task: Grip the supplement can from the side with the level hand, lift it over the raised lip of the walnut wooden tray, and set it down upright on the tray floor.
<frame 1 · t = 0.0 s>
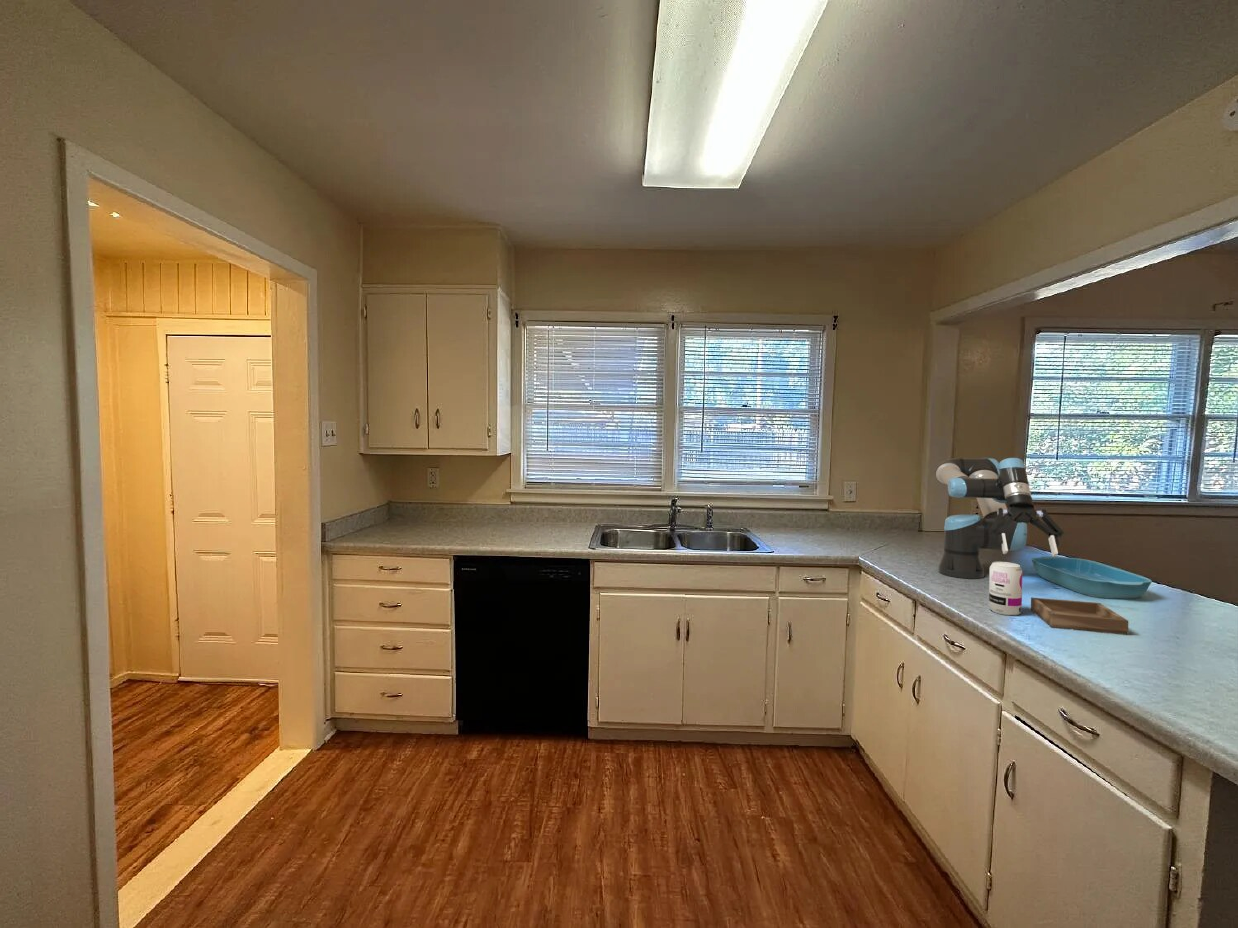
hand: (1030, 553, 173), 15 cm above the worktop, tool tilted 35°, fingers open, 13 cm apart
casserole dish: (1086, 587, 187), on the worktop
supplement can: (1004, 612, 162), on the worktop
walnut tray: (1075, 621, 153), on the worktop
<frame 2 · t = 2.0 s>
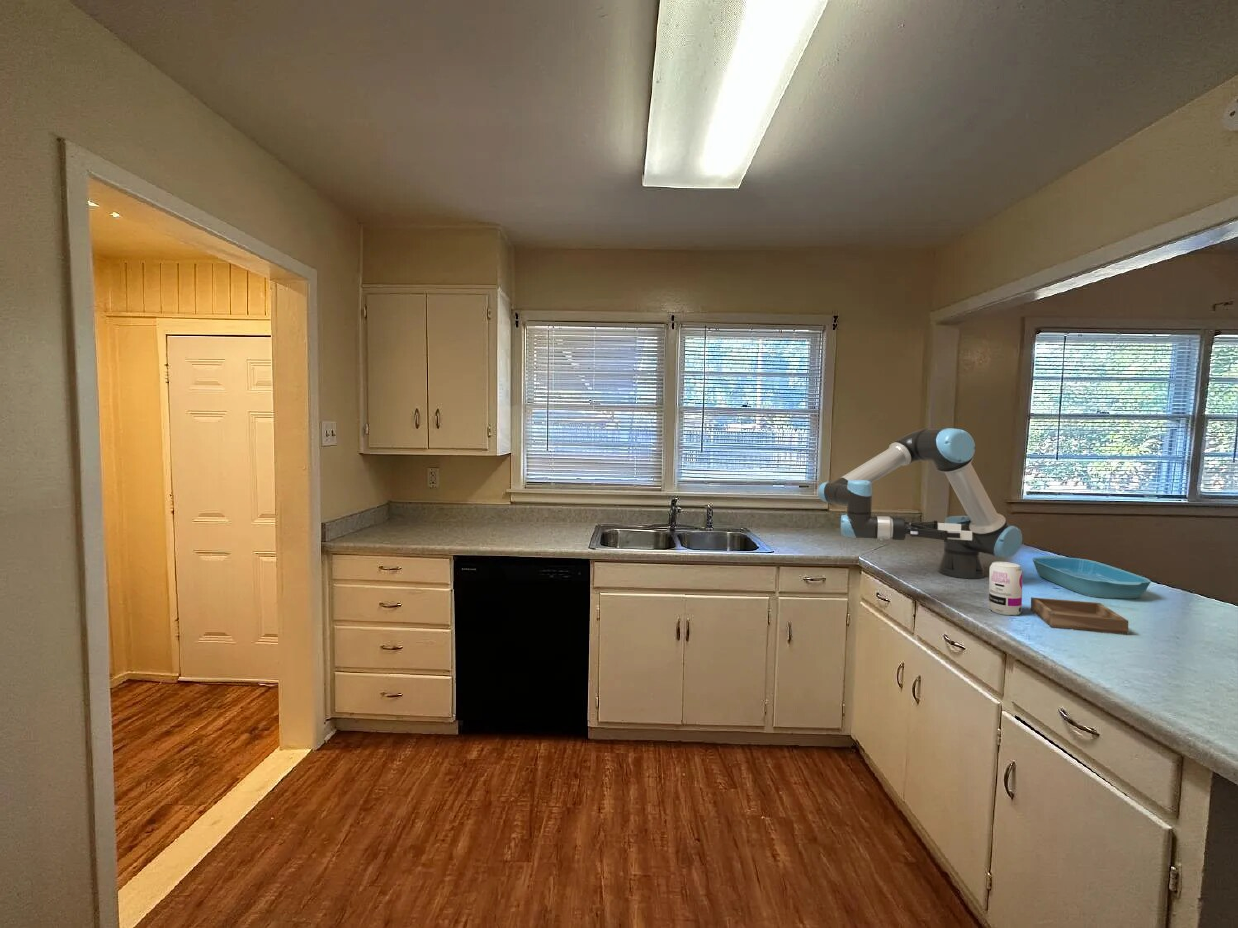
hand: (966, 531, 165), 25 cm above the worktop, tool horizontal, fingers open, 13 cm apart
nothing on the worktop moved.
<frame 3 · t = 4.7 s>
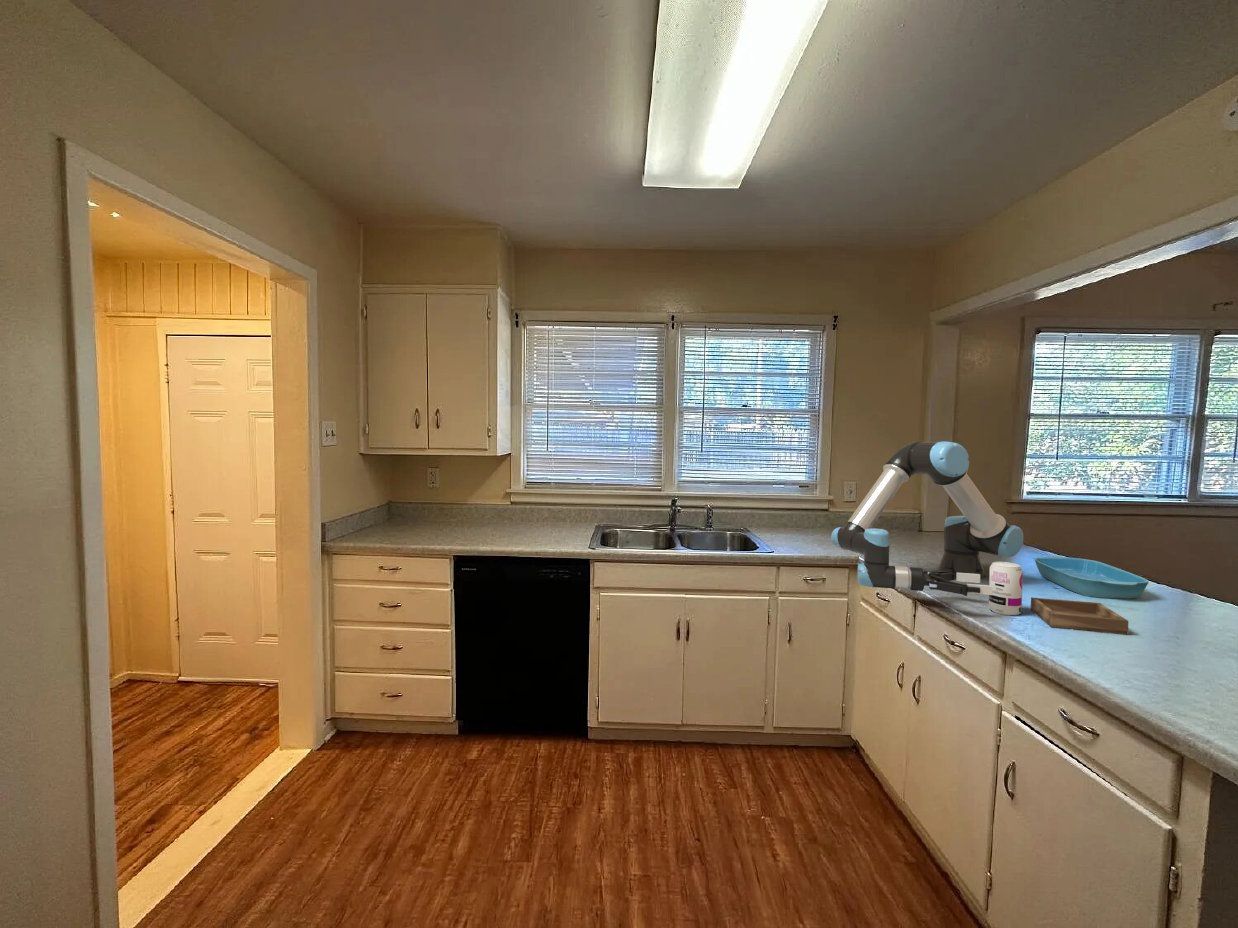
hand: (986, 584, 163), 8 cm above the worktop, tool horizontal, fingers open, 13 cm apart
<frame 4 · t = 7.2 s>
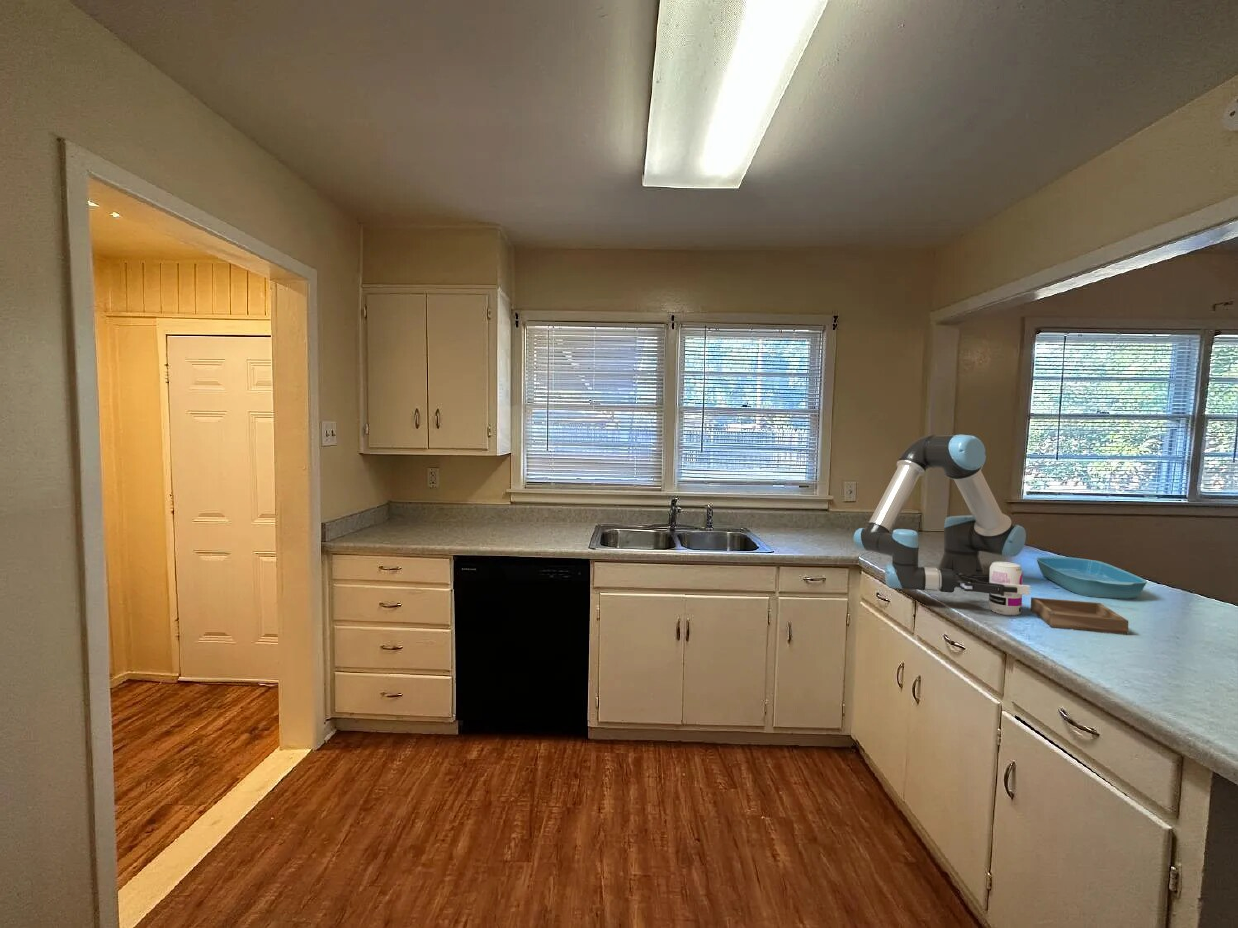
hand: (1023, 586, 160), 9 cm above the worktop, tool horizontal, fingers closed on supplement can, 8 cm apart
supplement can: (1004, 612, 162), on the worktop, touching gripper
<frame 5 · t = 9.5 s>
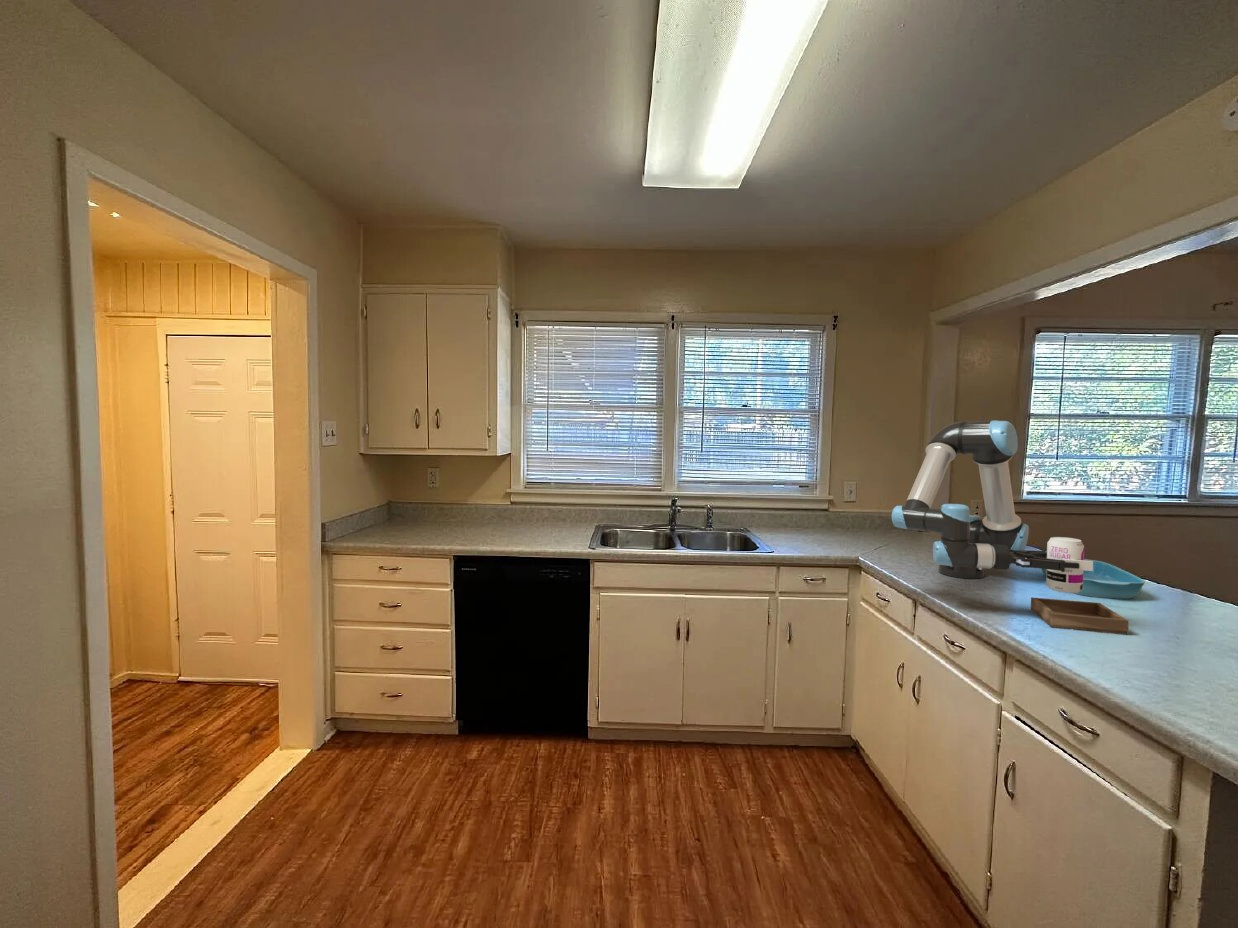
hand: (1085, 562, 151), 18 cm above the worktop, tool horizontal, fingers closed on supplement can, 8 cm apart
supplement can: (1063, 590, 154), point 9 cm above the worktop, touching gripper
when the fingers open (11 cm above the worktop, at t = 12.1 s): supplement can drops 2 cm, resting on walnut tray.
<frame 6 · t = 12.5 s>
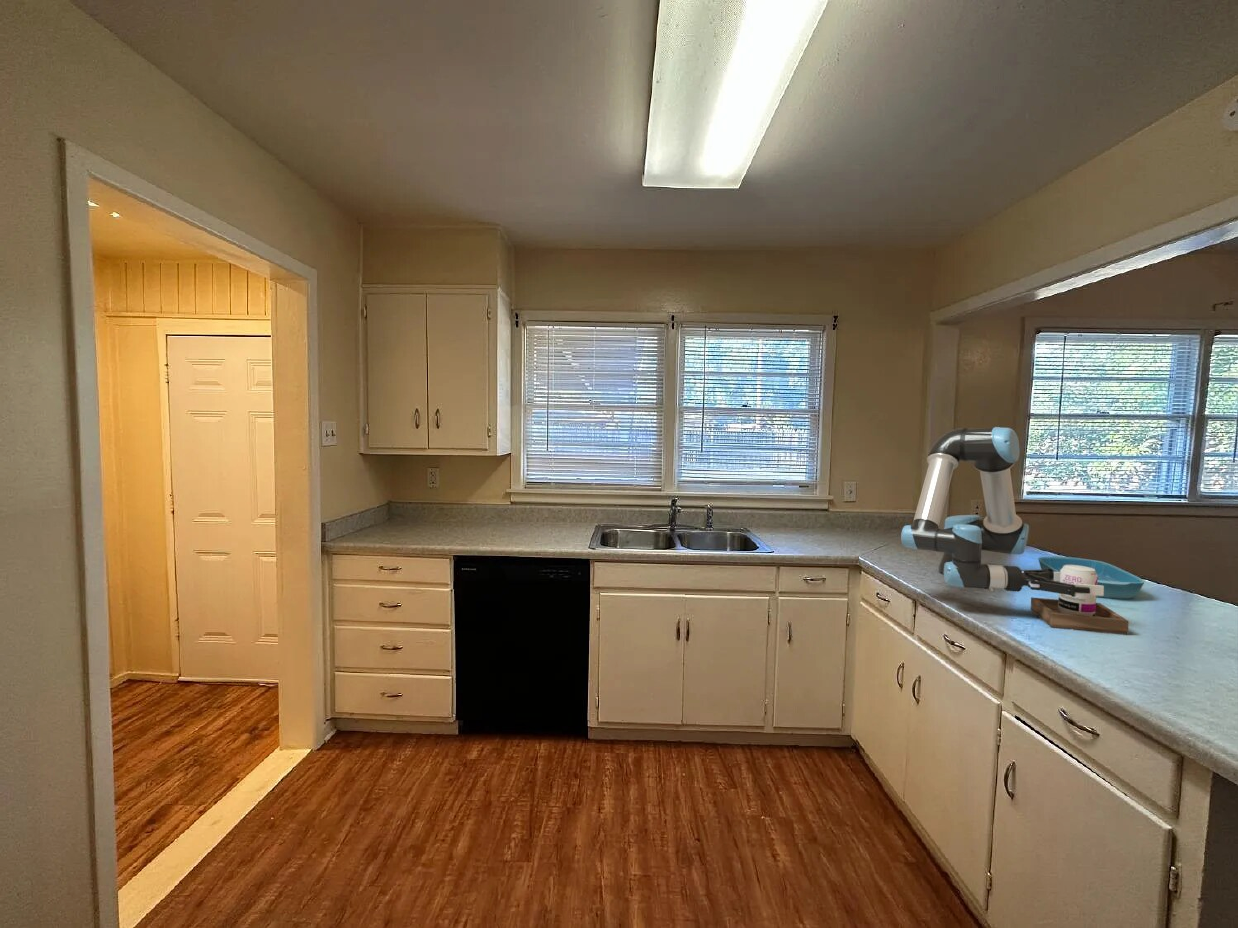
hand: (1091, 584, 151), 11 cm above the worktop, tool horizontal, fingers open, 13 cm apart
supplement can: (1075, 618, 153), point 1 cm above the worktop, touching walnut tray
everything else where it was.
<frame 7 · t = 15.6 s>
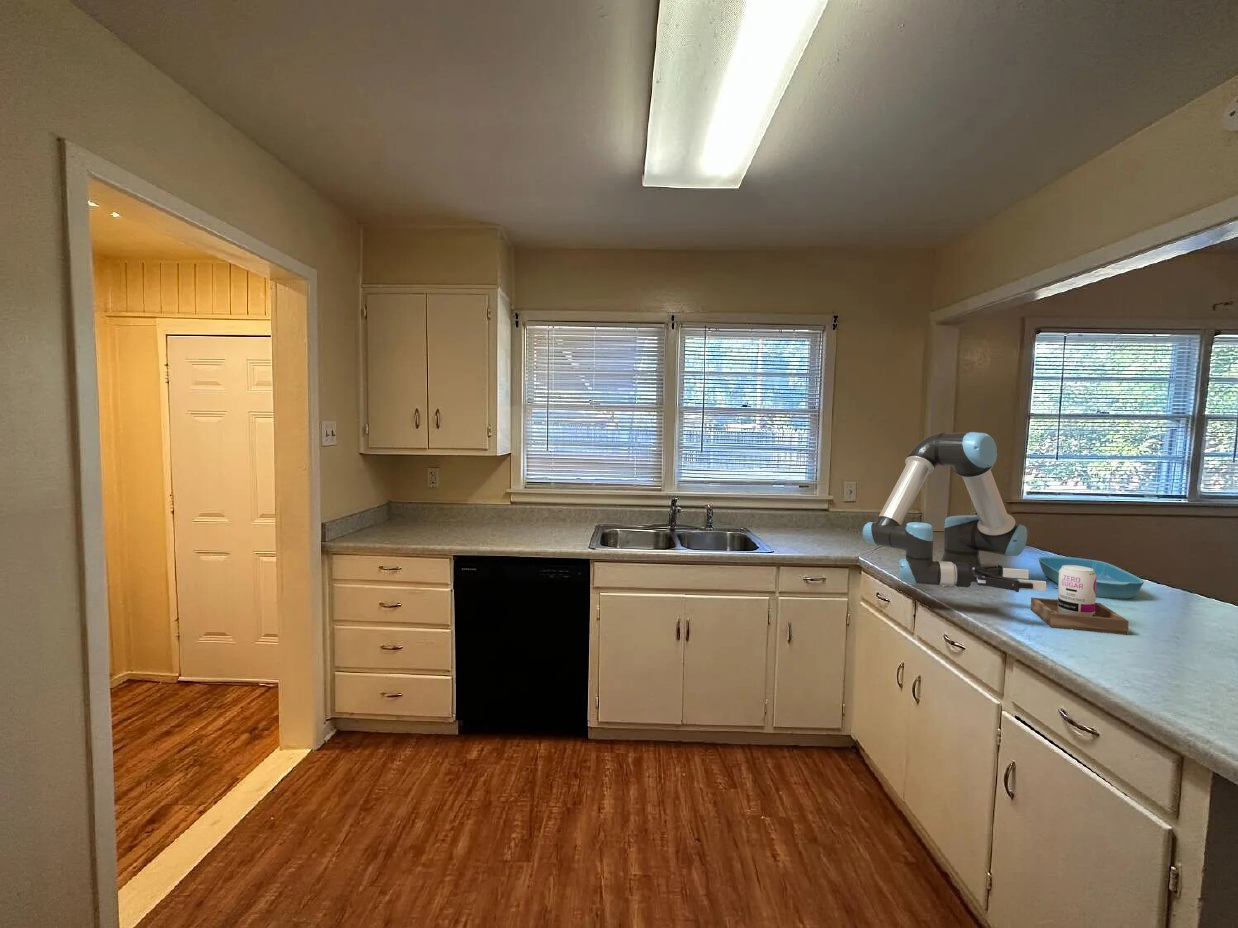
hand: (1036, 579, 156), 12 cm above the worktop, tool horizontal, fingers open, 13 cm apart
nothing on the worktop moved.
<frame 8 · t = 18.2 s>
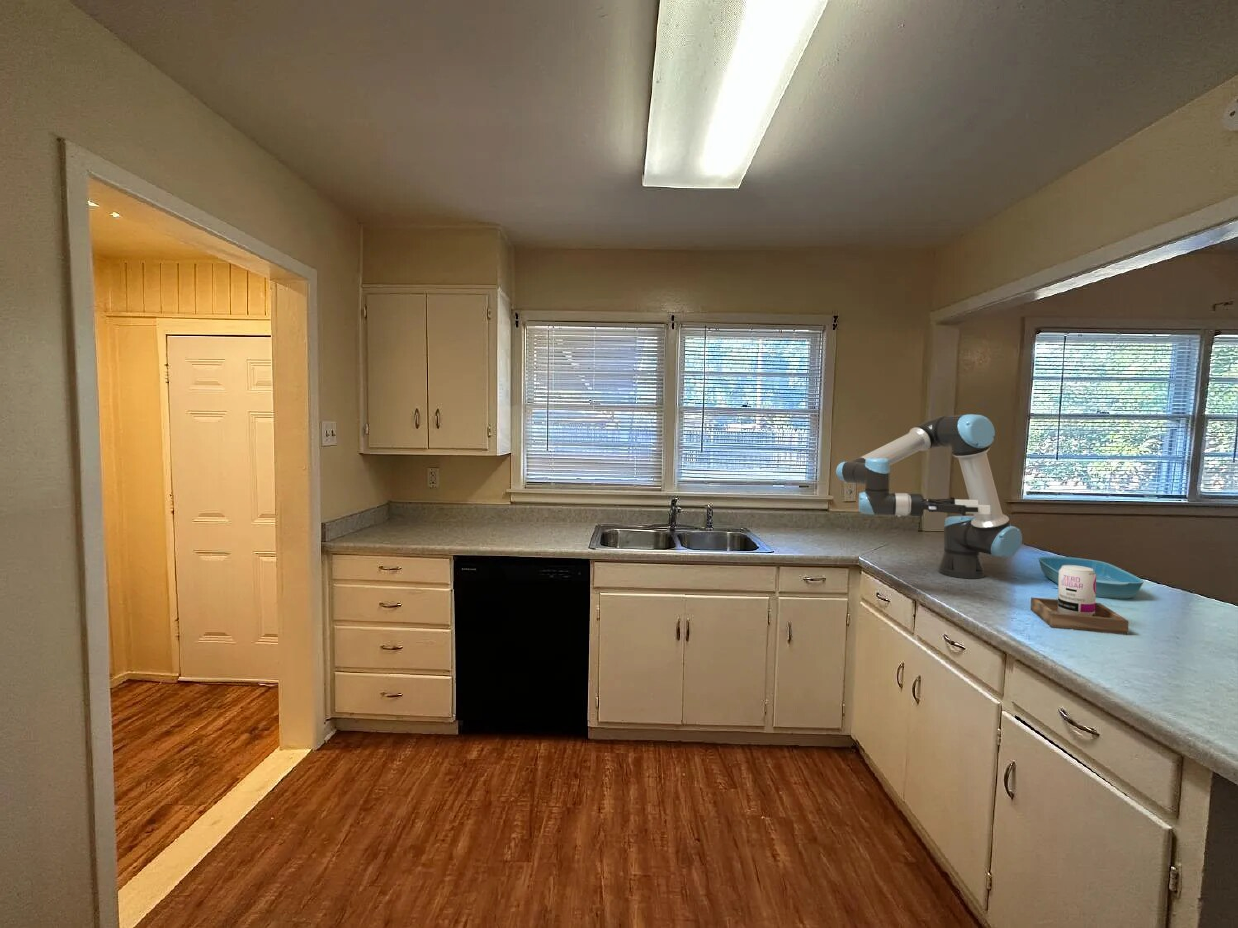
hand: (983, 506, 168), 32 cm above the worktop, tool horizontal, fingers open, 13 cm apart
nothing on the worktop moved.
at the end: supplement can inside the target area on the walnut tray (0.1 cm from its centre), point 0.8 cm above the walnut tray's base; supplement can tilted 0°; the gripper is holding nothing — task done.
